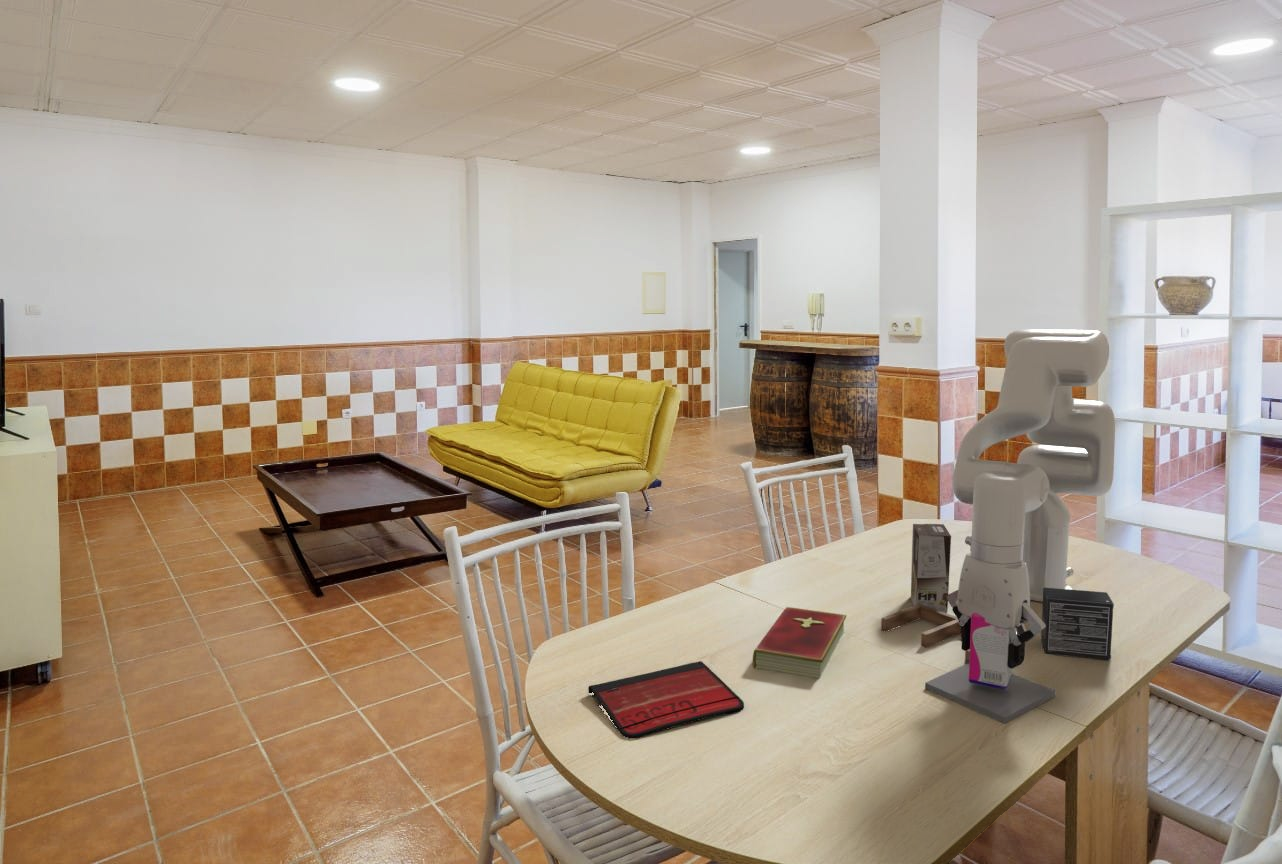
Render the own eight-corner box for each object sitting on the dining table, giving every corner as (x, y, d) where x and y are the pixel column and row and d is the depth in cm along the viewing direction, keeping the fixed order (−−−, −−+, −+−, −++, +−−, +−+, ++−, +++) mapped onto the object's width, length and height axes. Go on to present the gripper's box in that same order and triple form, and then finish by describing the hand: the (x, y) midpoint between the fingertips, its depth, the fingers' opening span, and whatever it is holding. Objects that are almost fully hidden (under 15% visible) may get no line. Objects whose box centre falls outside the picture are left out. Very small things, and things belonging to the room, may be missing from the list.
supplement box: (1012, 675, 134) (1016, 608, 132) (1006, 691, 129) (1010, 621, 127) (974, 667, 137) (977, 602, 135) (967, 682, 132) (970, 614, 130)
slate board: (975, 665, 143) (976, 659, 143) (1055, 696, 131) (1055, 690, 131) (925, 688, 135) (925, 682, 135) (1004, 723, 123) (1005, 717, 123)
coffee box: (948, 614, 165) (952, 536, 162) (915, 612, 166) (917, 535, 164) (941, 597, 174) (944, 523, 171) (909, 595, 175) (912, 522, 172)
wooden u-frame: (919, 615, 164) (919, 603, 164) (1008, 648, 149) (1008, 635, 149) (881, 630, 158) (881, 617, 158) (969, 665, 143) (970, 651, 142)
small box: (1104, 646, 149) (1108, 590, 147) (1111, 661, 143) (1115, 604, 141) (1039, 639, 152) (1042, 585, 151) (1043, 654, 146) (1047, 597, 145)
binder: (587, 684, 135) (700, 658, 144) (588, 697, 136) (700, 671, 144) (627, 734, 121) (749, 703, 129) (627, 749, 121) (749, 716, 130)
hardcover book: (752, 670, 144) (752, 647, 143) (784, 625, 163) (784, 605, 162) (821, 682, 139) (821, 658, 138) (846, 634, 158) (846, 613, 157)
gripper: (933, 542, 134) (930, 644, 137) (1036, 570, 120) (1030, 684, 123) (961, 533, 138) (957, 633, 141) (1064, 560, 124) (1057, 669, 127)
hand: (991, 656), depth 132 cm, fingers closed on supplement box, 7 cm apart
